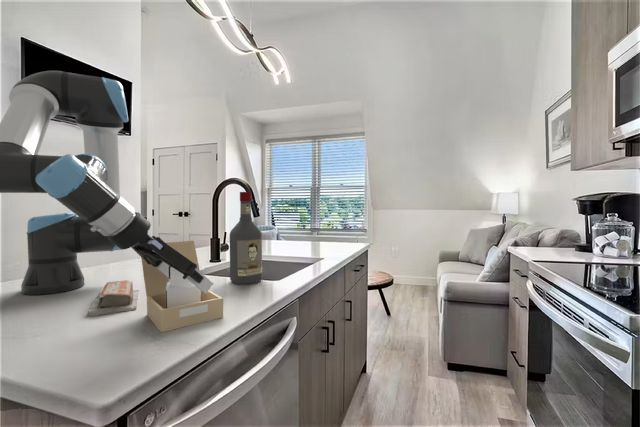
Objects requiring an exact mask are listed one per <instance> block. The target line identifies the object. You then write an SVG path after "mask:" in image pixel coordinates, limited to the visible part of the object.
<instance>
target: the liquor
mask: <svg viewBox="0 0 640 427" xmlns="http://www.w3.org/2000/svg"><path fill="white" fill-rule="evenodd" d="M251 202H252V192H251V191H240V192H239V203H240V204H239V205H240V206H239V207H240V213H239V214H240V217H239V221H238V222H237V223H236V224H235V226H234V227H233V228H232V229H231V230H230V233H229V280H230V281H231V283H233V284H236V285H243V286H248V285H252V284H257V283H260V282H261V281H262V279H263V234H262V230H261V229H260V228H259V227H258V226H257V224H255V222H253V221H254V220H253V218H252V205H251V204H252V203H251Z"/></svg>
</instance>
